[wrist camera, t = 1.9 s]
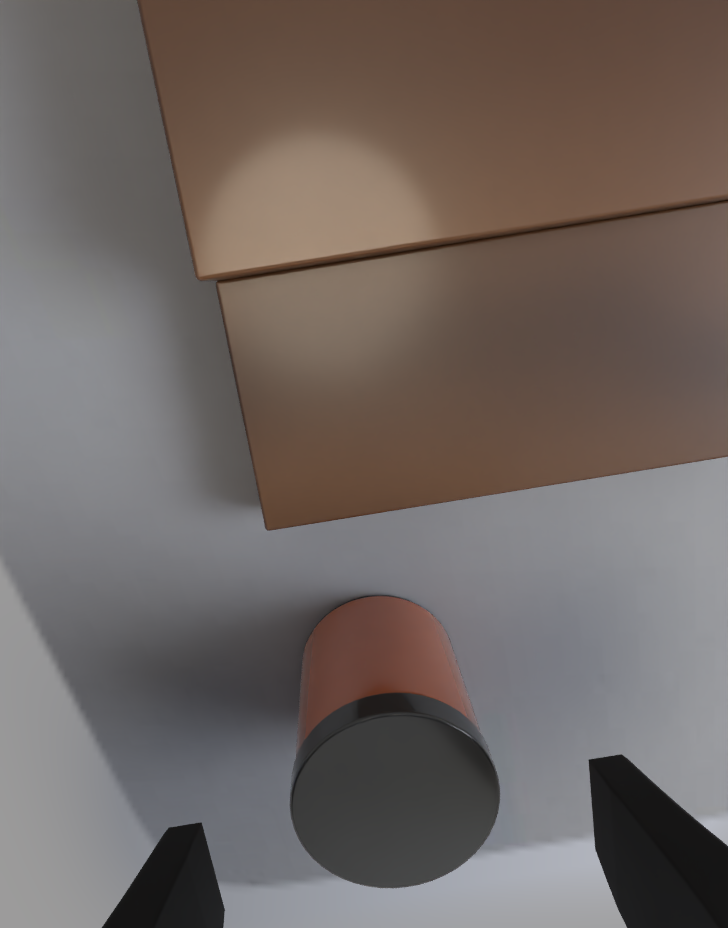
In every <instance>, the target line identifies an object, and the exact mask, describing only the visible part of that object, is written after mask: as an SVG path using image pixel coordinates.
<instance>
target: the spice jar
mask: <svg viewBox="0 0 728 928" xmlns="http://www.w3.org/2000/svg"><path fill="white" fill-rule="evenodd" d="M499 803H500V785H499V779H498V775H497V772H496V769H495V766H494V763H493V760H492V757H491V754H490V751H489V748H488V745H487V743H486V741H485V739H484V738H483V736H482V734H481V732H480V729H479V726H478V723H477V720H476V717H475V714H474V711H473V708H472V705H471V702H470V699H469V696H468V693H467V690H466V687H465V684H464V681H463V678H462V675H461V672H460V669H459V666H458V663H457V660H456V657H455V654H454V651H453V648H452V645H451V642H450V639H449V637H448V635H447V633H446V631H445V629H444V628H443V626H442V625H441V623H440V622H439V621H438V620H437V619H436V618H435V617H434V616H433V615H432V614H431V613H429V612H428V611H427V610H425V609H424V608H422V607H420V606H419V605H417V604H415V603H412V602H410V601H407V600H404V599H401V598H396V597H390V596H371V597H365V598H360V599H356V600H353V601H350V602H348V603H346V604H344V605H341V606H340V607H338V608H336V609H335V610H333V611H332V612H330V613H329V614H328V615H327V616H325V617H324V618H323V619H322V620H321V621H320V622H319V624H318V625H317V626H316V627H315V629H314V630H313V631H312V633H311V635H310V637H309V639H308V640H307V643H306V646H305V649H304V653H303V658H302V672H301V686H300V701H299V715H298V730H297V744H296V759H295V762H294V766H293V771H292V780H291V793H290V813H291V819H292V823H293V827H294V829H295V832H296V834H297V836H298V839H299V840H300V842H301V844H302V845H303V847H304V848H305V850H306V851H307V852H308V853H309V855H310V856H311V857H312V858H313V859H314V860H315V861H316V862H317V863H318V864H320V865H321V866H322V867H323V868H325V869H326V870H328V871H329V872H331V873H332V874H334V875H336V876H338V877H340V878H342V879H345V880H347V881H350V882H353V883H356V884H360V885H364V886H369V887H377V888H400V887H409V886H414V885H420V884H423V883H426V882H429V881H433V880H435V879H437V878H440V877H442V876H444V875H446V874H448V873H450V872H452V871H453V870H455V869H457V868H458V867H459V866H461V865H462V864H464V863H465V862H466V861H467V860H468V859H469V858H471V857H472V856H473V855H474V854H475V853H476V852H477V850H478V849H479V848H480V847H481V846H482V845H483V843H484V842H485V840H486V839H487V837H488V836H489V834H490V832H491V830H492V828H493V826H494V823H495V820H496V817H497V814H498V809H499Z"/></svg>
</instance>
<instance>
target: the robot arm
mask: <svg viewBox="0 0 728 928" xmlns="http://www.w3.org/2000/svg"><path fill="white" fill-rule="evenodd" d="M589 770H590V783H591V797H592V810H593V823H594V837H595V849H596V852H597V855H598V857H599V860H600V863H601V865H602V868H603V871H604V874H605V876H606V879H607V882H608V884H609V887H610V889H611V892H612V895H613V897H614V900H615V902H616V905H617V907H618V910H619V912H620V914H621V916H622V918H623V920H624V922H625V924H626V926H627V928H728V846H727V845H726V844H725V843H723V842H722V841H721V840H720V839H719V838H717V837H716V836H715V835H714V834H713V833H711V832H710V831H709V830H708V829H706V828H705V827H704V826H703V825H702V824H700V823H699V822H698V821H697V820H695V819H694V818H693V817H692V816H691V815H690V814H688V813H687V812H686V811H685V810H684V809H683V808H681V807H680V806H679V805H678V804H677V803H676V802H675V801H673V800H672V799H671V798H670V797H669V796H668V795H667V794H666V793H664V792H663V791H662V790H661V789H660V788H659V787H658V786H657V785H656V784H654V783H653V782H652V781H651V780H650V779H649V778H648V777H647V776H646V775H645V774H643V773H642V772H641V771H640V770H639V769H638V768H637V767H636V766H635V765H634V764H633V763H631V762H630V761H629V760H628V759H627V758H626V757H624V756H623V755H622V754H621V755H615V756H609V757H603V758H597V759H590V760H589ZM224 911H225V909H224V905H223V902H222V898H221V894H220V890H219V887H218V883H217V879H216V875H215V871H214V868H213V864H212V860H211V856H210V853H209V849H208V845H207V841H206V838H205V834H204V830H203V826H202V823H195V824H189V825H183V826H177V827H170V828H168V829H167V831H166V832H165V833H164V835H163V836H162V838H161V839H160V841H159V842H158V844H157V845H156V847H155V849H154V850H153V852H152V853H151V855H150V856H149V858H148V860H147V861H146V863H145V864H144V866H143V867H142V869H141V870H140V872H139V873H138V875H137V876H136V878H135V879H134V881H133V882H132V884H131V886H130V888H129V889H128V890H127V892H126V893H125V895H124V896H123V898H122V899H121V901H120V902H119V904H118V905H117V906H116V908H115V909H114V911H113V912H112V914H111V915H110V917H109V918H108V920H107V921H106V922H105V924H104V926H103V927H102V928H223V923H224Z"/></svg>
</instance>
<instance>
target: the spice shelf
mask: <svg viewBox="0 0 728 928" xmlns="http://www.w3.org/2000/svg"><path fill="white" fill-rule="evenodd" d="M137 3H138V8H139V13H140V17H141V22H142V27H143V31H144V36H145V41H146V46H147V50H148V55H149V60H150V64H151V69H152V74H153V79H154V83H155V88H156V93H157V97H158V102H159V107H160V112H161V116H162V121H163V126H164V130H165V135H166V140H167V145H168V149H169V154H170V159H171V163H172V168H173V173H174V178H175V182H176V187H177V192H178V196H179V201H180V206H181V211H182V215H183V220H184V225H185V229H186V234H187V239H188V244H189V248H190V253H191V258H192V262H193V267H194V272H195V277H196V278H197V280H199V281H217V282H216V289H217V294H218V299H219V304H220V309H221V314H222V318H223V323H224V328H225V333H226V338H227V343H228V348H229V353H230V357H231V362H232V367H233V372H234V377H235V382H236V387H237V392H238V396H239V401H240V406H241V411H242V416H243V421H244V426H245V431H246V436H247V440H248V445H249V450H250V455H251V460H252V465H253V470H254V475H255V479H256V484H257V489H258V494H259V499H260V504H261V509H262V514H263V518H264V523H265V528H266V530H269V531H270V530H276V529H282V528H288V527H295V526H301V525H307V524H313V523H319V522H325V521H332V520H338V519H344V518H350V517H356V516H363V515H369V514H375V513H381V512H387V511H394V510H400V509H406V508H412V507H418V506H425V505H431V504H437V503H443V502H449V501H456V500H462V499H468V498H474V497H480V496H486V495H493V494H499V493H505V492H511V491H517V490H524V489H530V488H536V487H542V486H548V485H555V484H561V483H567V482H573V481H579V480H586V479H592V478H598V477H604V476H610V475H617V474H623V473H629V472H635V471H641V470H647V469H654V468H660V467H666V466H672V465H678V464H685V463H691V462H697V461H703V460H709V459H716V458H722V457H728V0H137Z"/></svg>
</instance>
